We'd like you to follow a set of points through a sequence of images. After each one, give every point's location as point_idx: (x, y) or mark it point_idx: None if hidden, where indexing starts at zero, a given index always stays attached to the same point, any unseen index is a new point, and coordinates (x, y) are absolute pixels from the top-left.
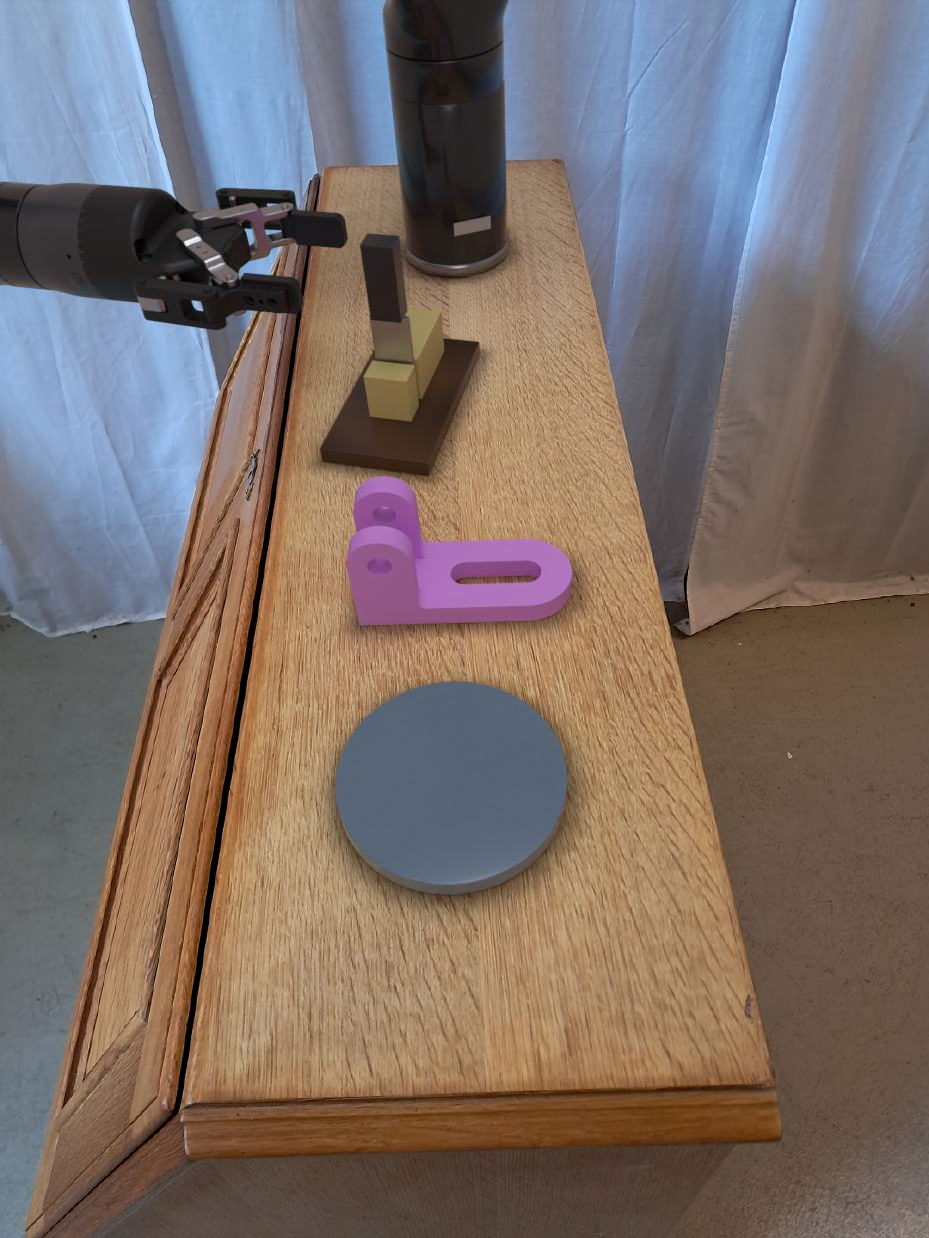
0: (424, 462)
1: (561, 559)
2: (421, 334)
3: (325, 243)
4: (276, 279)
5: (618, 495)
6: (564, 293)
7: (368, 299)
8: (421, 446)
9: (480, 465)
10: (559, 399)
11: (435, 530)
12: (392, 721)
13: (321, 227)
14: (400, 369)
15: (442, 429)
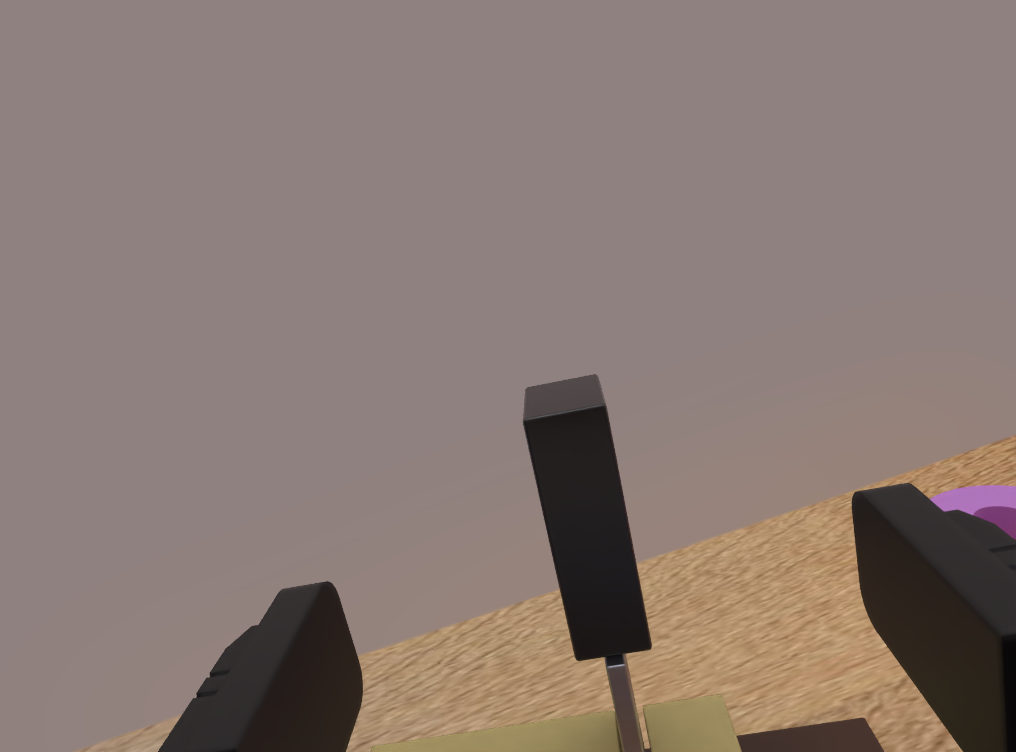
0: (866, 723)
1: (938, 502)
2: (496, 742)
3: (336, 741)
4: (924, 516)
5: (733, 538)
6: (149, 748)
7: (638, 581)
8: (817, 748)
9: (770, 686)
10: (523, 651)
11: None
12: None
13: (314, 675)
14: (677, 723)
15: None
